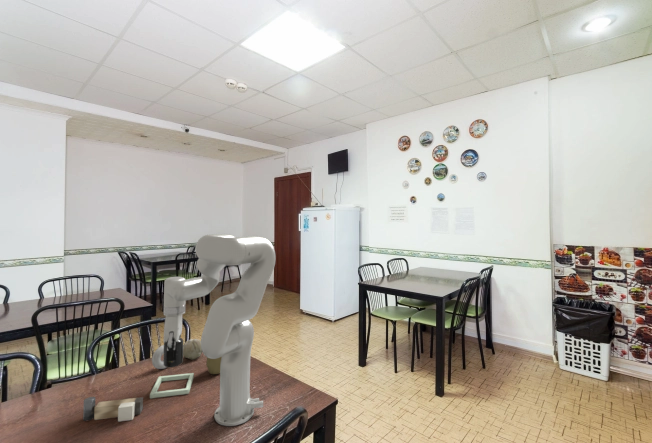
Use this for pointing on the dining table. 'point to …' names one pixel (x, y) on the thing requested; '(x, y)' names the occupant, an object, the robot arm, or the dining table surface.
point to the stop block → (126, 411)
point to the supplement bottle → (178, 354)
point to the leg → (115, 408)
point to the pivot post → (89, 408)
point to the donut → (158, 358)
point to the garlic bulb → (192, 349)
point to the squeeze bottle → (213, 365)
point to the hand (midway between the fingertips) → (173, 355)
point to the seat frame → (172, 392)
